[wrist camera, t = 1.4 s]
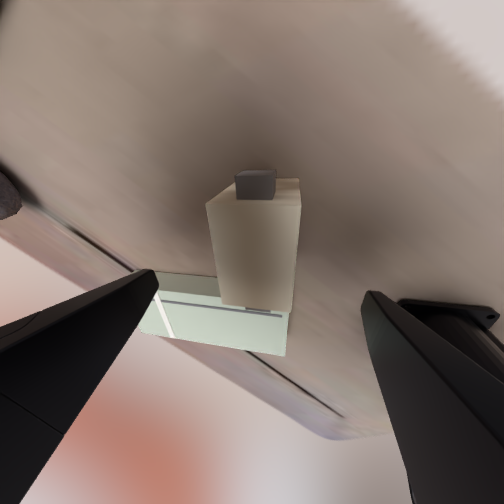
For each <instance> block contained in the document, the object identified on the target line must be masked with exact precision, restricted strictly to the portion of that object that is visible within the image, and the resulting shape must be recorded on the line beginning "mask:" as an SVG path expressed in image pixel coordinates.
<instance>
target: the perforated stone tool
mask: <svg viewBox="0 0 504 504" xmlns="http://www.w3.org/2000/svg"><path fill="white" fill-rule="evenodd" d="M21 207H22V204H21V196H20V194H19V193H18V191H17V190H16V188H15V187H14V185H13V184H12V183H11V182H10V181H9V180H8V179H7V177H6V176H5V175H4V174H2V173H1V172H0V220H3V219H5V218H7V217H10V216H13V215H14V214H17V212H18V211H19V210H20V208H21Z"/></svg>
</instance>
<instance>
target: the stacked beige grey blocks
mask: <svg viewBox="0 0 504 504" xmlns="http://www.w3.org/2000/svg"><path fill="white" fill-rule="evenodd" d="M205 206H206V212H207V218H208V224H209V230H210V236H211V242H212V247H213V253H214V259H215V265H216V271H217V277H218V283H219V289H220V295H221V301H222V304H223V305H232V306H240V307H245V310H252V311H260V312H268V313H271V310H272V311H280V312H288V313H291V309H292V299H293V288H294V278H295V268H296V257H297V247H298V237H299V226H300V216H301V206H302V205H301V195H300V184H299V178H276V170H243V171H242V172H240V173H238V174H237V175H235V182H234V183H233V184H232V185H230V186H229V187H228V188H226V189H225V190H223V191H222V192H221V193H219V194H218V195H217V196H215V197H214V198H212V199H211V200H210V201H208V202H207V203H206V204H205Z"/></svg>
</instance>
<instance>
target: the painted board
mask: <svg viewBox="0 0 504 504" xmlns="http://www.w3.org/2000/svg"><path fill="white" fill-rule="evenodd" d="M138 271H140V270H135V271H134V272H133V273H135V272H138ZM133 273H131V274H133ZM155 274H156V277H157V279H158V282H159V288H158V290H157V292H156V294H155V296H154V298H153V300H152V301H151V303H150V305H149V307H148V309H147V311H146V313H145V314H144V316H143V318H142V319H141V321H140V323H139V324H138V326H139V328H140V330H141V332H142V333H146V334H152V335H158V336H164V337H170V338H176V339H182V340H188V341H194V342H200V343H206V344H212V345H218V346H224V347H230V348H236V349H242V350H248V351H254V352H260V353H266V354H272V355H278V356H284V357H285V349H286V338H287V327H288V315H289V313H288V312H280V311H272V310H271V313H268V312H260V311H252V310H245V307H240V306H232V305H223V304H222V301H221V295H220V289H219V283H218V278H216V277H205V276H195V275H184V274H174V273H164V272H155Z"/></svg>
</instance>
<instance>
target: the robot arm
mask: <svg viewBox="0 0 504 504" xmlns="http://www.w3.org/2000/svg"><path fill="white" fill-rule="evenodd" d="M158 288H159V282H158V279H157V277H156V274H155V272H154V271H153V270H151V269H143V270H140V271H138V272H135V273H133V274H130V275H128V276H125V277H123V278H120V279H118V280H116V281H113V282H111V283H108V284H106V285H103V286H101V287H98V288H96V289H93V290H91V291H88V292H86V293H83V294H81V295H79V296H76V297H74V298H71V299H69V300H67V301H64V302H61V303H59V304H56V305H54V306H52V307H49V308H47V309H44V310H42V311H39V312H37V313H34V314H32V315H29V316H27V317H24V318H22V319H19V320H17V321H14V322H12V323H9V324H6V325H4V326H1V327H0V504H19V503H20V502H21V500H22V499H23V498H24V496H25V495H26V493H27V492H28V490H29V488H30V487H31V486H32V484H33V483H34V481H35V480H36V478H37V476H38V475H39V473H40V472H41V470H42V469H43V467H44V466H45V464H46V463H47V461H48V460H49V458H50V457H51V455H52V454H53V452H54V451H55V449H56V448H57V446H58V445H59V443H60V442H61V440H62V439H63V437H64V434H66V432H67V431H68V429H69V428H70V426H71V425H72V423H73V422H74V420H75V419H76V417H77V416H78V414H79V413H80V411H81V410H82V408H83V407H84V405H85V404H86V402H87V401H88V399H89V398H90V396H91V395H92V393H93V392H94V390H95V389H96V387H97V385H98V384H99V383H100V381H101V380H102V378H103V377H104V375H105V374H106V372H107V371H108V369H109V368H110V366H111V365H112V363H113V362H114V360H115V359H116V357H117V356H118V354H119V353H120V351H121V350H122V348H123V347H124V345H125V344H126V342H127V341H128V339H129V338H130V336H131V335H132V333H133V332H134V330H135V329H136V327H137V326H138V324H139V323H140V321H141V319H142V318H143V316H144V314H145V313H146V311H147V309H148V307H149V305H150V303H151V301H152V300H153V298H154V296H155V294H156V292H157V290H158ZM361 315H362V320H363V325H364V331H365V336H366V341H367V346H368V350H369V354H370V358H371V361H372V364H373V367H374V370H375V373H376V377H377V380H378V383H379V386H380V389H381V392H382V396H383V399H384V402H385V405H386V408H387V411H388V414H389V418H390V421H391V424H392V427H393V430H394V433H395V437H396V440H397V443H398V446H399V449H400V452H401V455H402V459H403V462H404V465H405V468H406V471H407V476H408V482H409V488H410V494H411V499H412V503H413V504H504V345H503V344H502V343H501V342H500V341H499V340H498V339H497V338H496V337H495V336H494V335H493V334H492V333H491V332H490V331H489V330H488V329H489V328H490V327H491V326H492V325H493V324H494V323H495V322H496V321H497V319H498V318H499V317H500V314H499V313H498V312H496V311H495V310H494V309H492V308H484V307H474V306H464V305H453V304H443V303H433V302H423V301H413V300H402V301H400V302H399V303H398V304H396V303H395V302H394V301H392V300H391V299H390V298H388V297H387V296H386V295H384V294H383V293H382V292H380V291H371V290H369V291H367V292H366V294H365V296H364V299H363V302H362V305H361Z"/></svg>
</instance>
